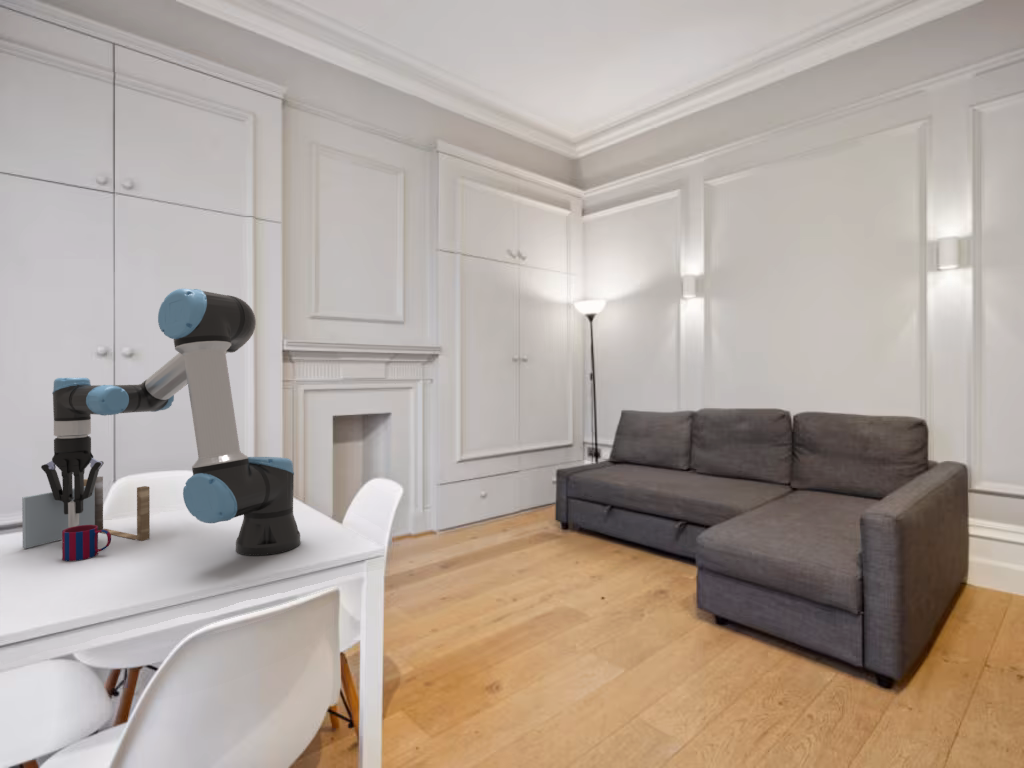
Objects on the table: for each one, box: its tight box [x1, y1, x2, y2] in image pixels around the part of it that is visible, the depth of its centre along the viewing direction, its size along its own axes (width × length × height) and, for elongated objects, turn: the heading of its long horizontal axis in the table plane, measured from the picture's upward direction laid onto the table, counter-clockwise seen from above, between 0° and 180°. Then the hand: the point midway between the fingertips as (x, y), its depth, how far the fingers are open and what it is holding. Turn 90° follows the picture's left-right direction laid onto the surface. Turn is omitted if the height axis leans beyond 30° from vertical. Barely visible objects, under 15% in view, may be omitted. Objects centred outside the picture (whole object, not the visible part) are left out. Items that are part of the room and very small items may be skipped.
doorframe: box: [84, 476, 151, 542], centre depth 147 cm, size 26×2×15 cm, turn 66°
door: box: [21, 486, 95, 549], centre depth 141 cm, size 16×3×13 cm, turn 160°
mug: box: [61, 525, 112, 562], centre depth 128 cm, size 7×10×7 cm
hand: (73, 525), depth 140 cm, fingers closed
